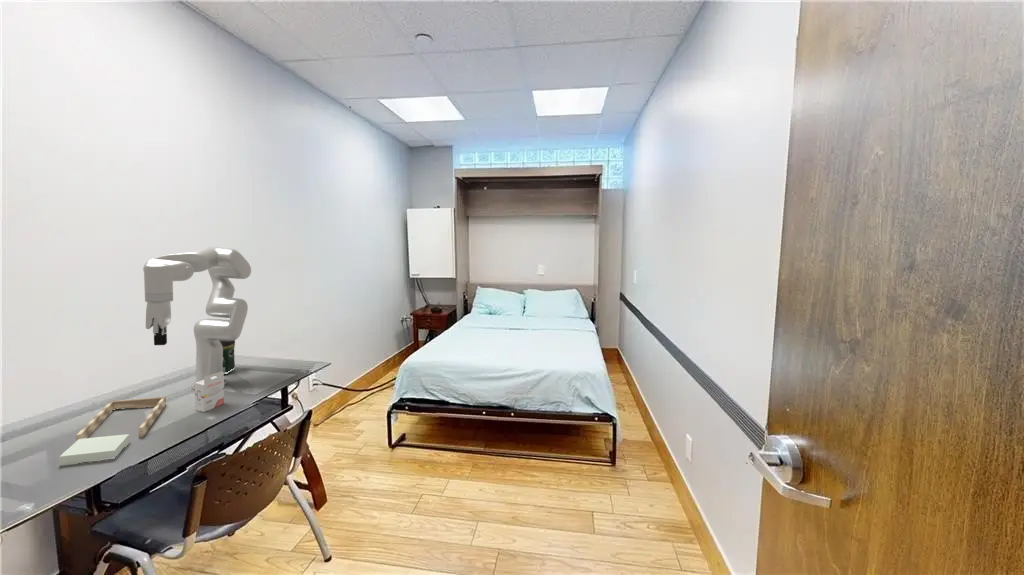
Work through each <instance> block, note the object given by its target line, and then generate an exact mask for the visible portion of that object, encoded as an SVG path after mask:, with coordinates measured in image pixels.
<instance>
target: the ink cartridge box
mask: <svg viewBox="0 0 1024 575" xmlns="http://www.w3.org/2000/svg"><path fill="white" fill-rule="evenodd" d="M213 376H214V377H213ZM224 377H225V375H224V374H223V371H222V372H219V373H216V374H213V375H210V376H207V377H204V380H202V381H199V382H196V381H195V382H196V383H195V389H194V410H195V411H199V412H203V413H205V412H208V411H210V410H212V409H214V408H217V407H219V406H221V405H223V404H224V402H225V401H224V400H225V385H224V379H225V378H224Z"/></svg>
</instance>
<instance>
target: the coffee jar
mask: <svg viewBox="0 0 1024 575" xmlns="http://www.w3.org/2000/svg"><path fill="white" fill-rule="evenodd" d="M219 341H220V343H221V344H222V347H223V366H222V371H223V373H225V372H228V371H230V370H231V369H233V368H234V367H235V368H236V363H235V362H236V361H235V346H236V340H234V341H223V340H219Z"/></svg>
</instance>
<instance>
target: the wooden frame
mask: <svg viewBox="0 0 1024 575" xmlns="http://www.w3.org/2000/svg"><path fill="white" fill-rule="evenodd" d="M166 405H167V396H159V397H148V398H147V397H146V398H135V399H133V398H132V399H124V400H110V401H109V402H108V403H107V404H106V405H105V406H104V407H103V408H102V409H101V410H100V411H99V412H98V413H97V414H96V415H95V416H93V417H92V419H91V420H90V421H89V422H88V423H86V424H85V426H84V427H82V429H81V430H80V431H78V433H77V434H75V442H76V441H77V440H79V439H84V438H89V437H90V436H91V435H92V434H93V432H95V430H96V429H98V427H99V426H100V425H101V424H102V423H103V422H104V421H105V420H106V419H107V418H108V417H109V416H108V414H109V413H110V412H111V411H112V410H113V409H117V408H118V409H122V408H137V409H145V408H146V407H148V408H153V409H152V411H151V412H150V413H149V414H148V415H147V417H146V418H145V419H144V421H143V422H142V423H141V425H140V426H139V427H138V438H144V436H145V435H146V434H147V432H148V430H149V429H150V428H151V426H152V425H153V424H154V422H156V420H157V418H158V417H159V415H160V414H161V412H162V411H163V410H164V408H165V406H166ZM146 409H147V408H146ZM112 412H113V411H112ZM107 416H108V417H107ZM106 417H107V418H106ZM105 418H106V419H105ZM104 419H105V420H104ZM103 420H104V421H103ZM102 421H103V422H102ZM101 422H102V423H101ZM99 424H100V425H99Z"/></svg>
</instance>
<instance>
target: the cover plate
mask: <svg viewBox="0 0 1024 575" xmlns="http://www.w3.org/2000/svg"><path fill="white" fill-rule="evenodd" d="M130 441H131V440H130V434H129V433H128V434H117V435H115V434H114V435H107V436H106V435H105V436H97V437H87V438H84V439H79V440H77V441H76V440H75V442H74V443H73V444H72V445H71V446H70V447H68V448H67V449H66V450H65V451H64V452H63V453H62V454H61V455H59V457H58V458H59V467H63V466H70V465H79V464H78V463H81V464H83V463H82V462H86V461H91V460H99V459H104V458H105V459H106V458H112V457H115V456H116V455H117V454H118V453H119V452H120V451H121V450H122V449H123V448H124V447H125V448H127V446H128V445H129V444H130ZM125 448H124V449H125Z"/></svg>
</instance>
